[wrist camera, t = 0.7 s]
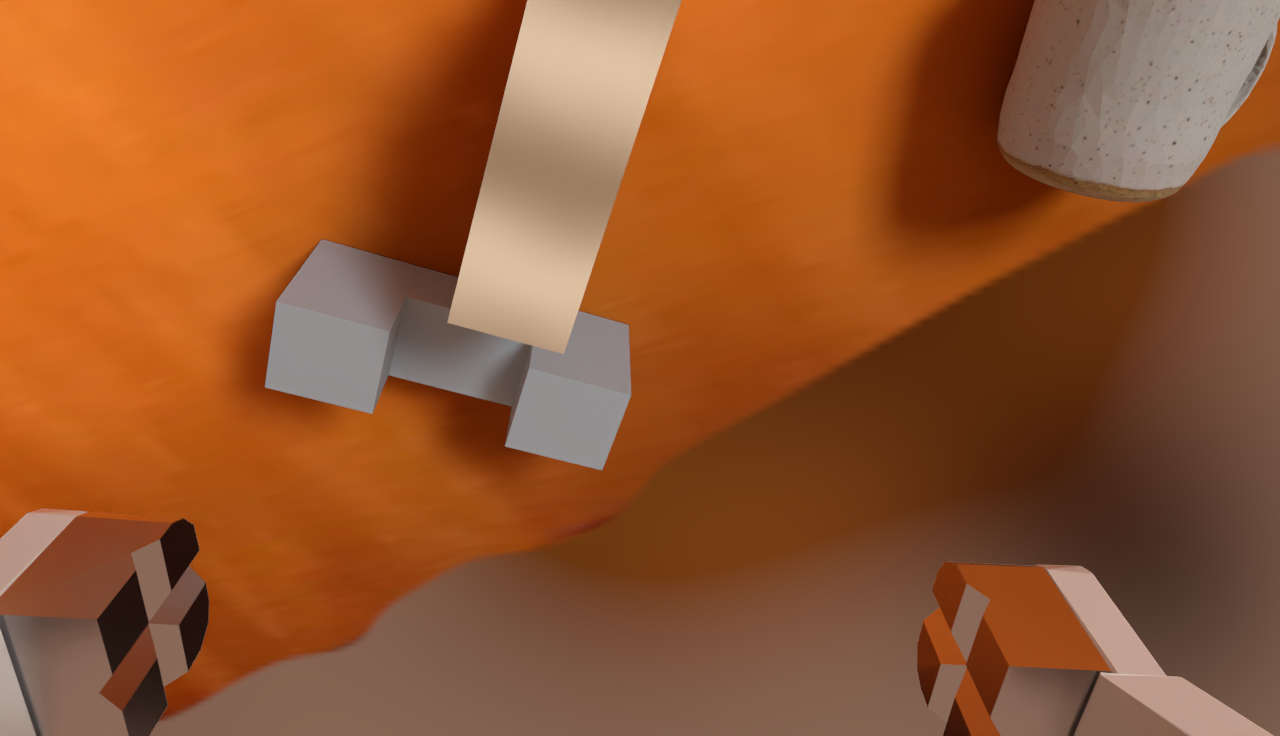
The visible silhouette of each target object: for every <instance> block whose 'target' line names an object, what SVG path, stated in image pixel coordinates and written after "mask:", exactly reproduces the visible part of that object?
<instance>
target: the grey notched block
mask: <svg viewBox="0 0 1280 736" xmlns="http://www.w3.org/2000/svg"><path fill="white" fill-rule="evenodd" d="M457 281H458V277H455V276H452V275H448V274H445V273H441V272H438V271H434V270H430V269H427V268H423V267H420V266H416V265H413V264H409V263H405V262H402V261H398V260H395V259H391V258H388V257H384V256H380V255H377V254H373V253H370V252H366V251H363V250H359V249H355V248H352V247H348V246H345V245H341V244H337V243H334V242H330V241H327V240H323V239H322V240H321V241H320V242H319V244H318V245H317V246H316V248H315V249H314V250H313V252H312V253H311V255H310V256H309V257H308V259H307V260H306V261H305V263H304V264H303V266H302V267H301V268H300V270H299V271H298V272H297V274H296V275H295V276H294V278H293V279H292V281H291V282H290V283H289V285H288V286H287V287H286V289H285V290H284V292H283V293H282V294H281V296H280V297H279V298H278V300H277V301H276V307H275V315H274V322H273V329H272V337H271V344H270V352H269V359H268V367H267V374H266V382H265V388H269V389H273V390H277V391H281V392H285V393H289V394H293V395H297V396H301V397H306V398H310V399H314V400H318V401H322V402H326V403H330V404H334V405H338V406H342V407H346V408H350V409H354V410H358V411H363V412H367V413H371V414H373V411H374V409H375V407H376V404H377V402H378V399H379V397H380V395H381V392H382V390H383V387H384V385H385V383H386V380H387V378H388V375H389V376H393V377H397V378H401V379H405V380H409V381H413V382H417V383H421V384H425V385H429V386H433V387H437V388H441V389H444V390H448V391H452V392H456V393H460V394H464V395H468V396H472V397H476V398H480V399H484V400H488V401H492V402H495V403H499V404H503V405H507V406H511V407H512V408H511V414H510V420H509V425H508V431H507V437H506V442H505V447H509V448H513V449H517V450H521V451H525V452H529V453H534V454H538V455H542V456H546V457H550V458H554V459H558V460H562V461H566V462H570V463H574V464H578V465H582V466H587V467H591V468H595V469H599V470H602V469H603V467H604V464H605V461H606V459H607V456H608V454H609V451H610V448H611V446H612V443H613V441H614V438H615V436H616V433H617V430H618V428H619V425H620V423H621V420H622V418H623V415H624V412H625V410H626V407H627V405H628V402H629V400H630V397H631V376H630V349H629V325H627V324H623V323H620V322H616V321H613V320H609V319H605V318H602V317H598V316H595V315H591V314H588V313H584V312H580V311H578V313H577V316H576V319H575V322H574V325H573V328H572V331H571V334H570V337H569V340H568V343H567V346H566V349H565V352H564V354H561V353H558V352H554V351H550V350H547V349H543V348H539V347H535V346H532V345H528V344H524V343H521V342H517V341H513V340H509V339H506V338H502V337H498V336H495V335H491V334H487V333H483V332H480V331H476V330H472V329H469V328H465V327H461V326H457V325H454V324H450V323H447V322H448V318H449V314H450V309H451V305H452V301H453V297H454V293H455V289H456V285H457Z"/></svg>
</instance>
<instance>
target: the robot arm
mask: <svg viewBox="0 0 1280 736" xmlns="http://www.w3.org/2000/svg"><path fill="white" fill-rule="evenodd" d="M198 552H199V545H198V541H197V537H196V533H195V529H194V525H193V524H191V523H190V522H188V521H187V520H185V519H184V518H174V517H161V516H148V515H136V514H123V513H110V512H97V511H90V512H85V511H77V510H62V509H48V508H42V509H39V510H35V511H32V512H28V513H27V514H26V515H24V516H23V517H22V518H21V519H20V520H19V521H18V522H17V523H16V524H15V525H14V526H13V527H12V528H11V529H10V530H9V531H8V532H7V533H6V534H4V535H3V536H2V537H1V538H0V736H150V734H151V732H152V731H153V729H154V727H155V726H156V724H157V722H158V721H159V719H160V717H161V716H162V714H163V713H164V711H165V709H166V708H167V706H168V704H167V700H166V695H165V691H164V686H166V685H168V684H169V683H171V682H172V681H174V680H175V679H177V678H179V677H180V676H182V675H183V674H185V673H186V672H188V671H189V669H190V667H191V666H192V664H193V662H194V660H195V659H196V657H197V655H198V653H199V651H200V650H201V646H202V643H203V639H204V636H205V632H206V629H207V625H208V617H209V598H208V592H207V586H206V583H205V582H204V581H203V580H202V579H201V578H200V577H199V576H198V575H197V574H196V573H195V572H194V571H193V570H192V569H191V568H190V567H189V565H190V563H191V562H192V560H193V559H194V557H195V556H196V554H197V553H198ZM932 590H933V593H934V595H935V597H936V599H937V602H938V604H939V606H940V608H938V609H937V610H936V611H935V612H934V613H932V614H931V615H930V616H929V617H927V618H926V619H925V620H924V621H923V624H922V628H921V632H920V636H919V641H918V645H917V646H918V647H917V671H918V676H919V681H920V686H921V690H922V693H923V696H924V698H925V701H926V704H927V707H928V708H929V709H930V710H931V711H932V712H934V713H935V714H936V715H937V716H938V717H939V718H940V719H942V720H943V721H944V722H945V723H946V727H945V730H944V734H943V736H1273V735H1272V734H1270V733H1268V732H1267V731H1265V730H1264V729H1262V728H1261V727H1259V726H1257V725H1256V724H1254V723H1252V722H1251V721H1250V720H1248V719H1246V718H1245V717H1243V716H1242V715H1240V714H1238V713H1237V712H1235V711H1234V710H1232V709H1231V708H1229V707H1227V706H1226V705H1224V704H1223V703H1221V702H1219V701H1218V700H1217V699H1215V698H1213V697H1212V696H1210V695H1209V694H1207V693H1206V692H1204V691H1202V690H1201V689H1199V688H1198V687H1196V686H1194V685H1193V684H1191V683H1190V682H1188V681H1187V680H1185V679H1183V678H1182V677H1172V676H1166V675H1165V673H1164V672H1163V671H1162V669H1161V668H1160V666H1159V665H1158V664H1157V662H1156V661H1155V660H1154V658H1153V657H1152V656H1151V654H1150V652H1149V651H1148V650H1147V648H1146V647H1145V646H1144V644H1143V643H1142V642H1141V640H1140V639H1139V637H1138V636H1137V635H1136V633H1135V632H1134V630H1133V629H1132V628H1131V626H1130V625H1129V623H1128V622H1127V621H1126V619H1125V618H1124V617H1123V615H1122V614H1121V612H1120V611H1119V610H1118V608H1117V607H1116V605H1115V604H1114V603H1113V601H1112V600H1111V599H1110V597H1109V596H1108V594H1107V593H1106V592H1105V590H1104V589H1103V588H1102V586H1101V585H1100V583H1099V582H1098V581H1097V579H1096V578H1095V576H1094V575H1093V574H1092V573H1091V572H1090V571H1088V570H1087V569H1085V568H1083V567H1081V566H1064V565H1035V566H1024V565H1005V564H986V563H985V564H984V563H965V562H947V561H946V562H945V563H944V564H943V566H942V567H941V568H940V570H939V571H938V573H937V577H936V580H935V583H934V586H933V589H932Z"/></svg>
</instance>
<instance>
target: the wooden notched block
mask: <svg viewBox="0 0 1280 736" xmlns="http://www.w3.org/2000/svg"><path fill="white" fill-rule="evenodd" d="M680 3H681V0H527V4H526V8H525V12H524V16H523V20H522V24H521V28H520V32H519V36H518V40H517V44H516V48H515V52H514V56H513V60H512V64H511V68H510V72H509V76H508V80H507V84H506V88H505V92H504V96H503V100H502V104H501V108H500V112H499V116H498V120H497V124H496V128H495V132H494V136H493V141H492V145H491V149H490V153H489V157H488V161H487V165H486V169H485V173H484V177H483V181H482V185H481V189H480V193H479V197H478V201H477V205H476V209H475V213H474V217H473V221H472V225H471V229H470V233H469V237H468V241H467V245H466V249H465V253H464V257H463V261H462V265H461V269H460V273H459V277H458V281H457V285H456V289H455V293H454V297H453V301H452V305H451V309H450V314H449V318H448V322H447V323H450V324H454V325H457V326H461V327H465V328H469V329H472V330H476V331H480V332H483V333H487V334H491V335H495V336H498V337H502V338H506V339H509V340H513V341H517V342H521V343H524V344H528V345H532V346H535V347H539V348H543V349H547V350H550V351H554V352H558V353H561V354H564V352H565V349H566V346H567V343H568V340H569V337H570V334H571V331H572V328H573V325H574V322H575V319H576V316H577V313H578V310H579V307H580V304H581V301H582V298H583V295H584V292H585V289H586V286H587V283H588V280H589V277H590V274H591V271H592V268H593V265H594V262H595V259H596V256H597V253H598V250H599V247H600V244H601V241H602V238H603V235H604V232H605V229H606V226H607V223H608V220H609V217H610V214H611V211H612V208H613V205H614V202H615V198H616V195H617V192H618V189H619V186H620V183H621V180H622V177H623V174H624V171H625V168H626V165H627V162H628V159H629V156H630V153H631V150H632V147H633V144H634V141H635V138H636V135H637V132H638V129H639V126H640V123H641V120H642V117H643V114H644V111H645V108H646V105H647V102H648V99H649V96H650V93H651V90H652V87H653V84H654V81H655V78H656V75H657V72H658V69H659V66H660V63H661V60H662V57H663V54H664V51H665V48H666V45H667V42H668V39H669V36H670V33H671V30H672V27H673V24H674V21H675V18H676V15H677V12H678V9H679V6H680Z"/></svg>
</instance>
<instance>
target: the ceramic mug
mask: <svg viewBox="0 0 1280 736" xmlns="http://www.w3.org/2000/svg"><path fill="white" fill-rule="evenodd" d="M1279 18H1280V0H1035V1H1034V4H1033V7H1032V11H1031V14H1030V17H1029V21H1028V24H1027V27H1026V31H1025V34H1024V37H1023V41H1022V44H1021V47H1020V51H1019V54H1018V58H1017V61H1016V65H1015V68H1014V70H1013V73H1012V76H1011V78H1010V81H1009V84H1008V87H1007V89H1006V93H1005V97H1004V101H1003V104H1002V108H1001V112H1000V118H999V127H998V135H997V146H998V148H999V150H1000V152H1001V154H1002V155H1003V157H1004V158H1005V160H1006V161H1007V162H1008V163H1009V164H1010V165H1011V166H1012V167H1013V168H1015V169H1017V170H1018V171H1020V172H1021V173H1023V174H1025V175H1026V176H1029V177H1031V178H1033V179H1035V180H1037V181H1039V182H1042V183H1044V184H1047V185H1049V186H1052V187H1055V188H1058V189H1062V190H1065V191H1068V192H1071V193H1075V194H1079V195H1083V196H1087V197H1093V198H1099V199H1104V200H1111V201H1121V202H1145V201H1153V200H1157V199H1161V198H1164V197H1167V196H1170V195H1172V194H1174V193H1175V192H1177V191H1178V190H1179V189H1180V188H1181V187H1182V186H1183V185H1184V184H1185V183H1186V182H1187V181H1188V179H1189V178H1190V177H1191V176H1192V175H1193V173H1194V172H1195V171H1196V169H1197V168H1198V166H1199V165H1200V164H1201V162H1202V161H1203V160H1204V158H1205V157H1206V155H1207V153H1208V151H1209V149H1210V148H1211V146H1212V144H1213V142H1214V140H1215V138H1216V136H1217V134H1218V132H1219V130H1220V128H1221V127H1222V126H1223V125H1224V124H1225V123H1226V122H1227V121H1228V120H1229V119H1230V118H1231V117H1232V116H1233V115H1234V114H1235V113H1236V111H1237V110H1238V109H1239V108H1240V106H1241V105H1242V104H1243V102H1244V101H1245V100H1246V99H1247V97H1248V96H1249V94H1250V92H1251V90H1252V89H1253V87H1254V86H1255V84H1256V83H1257V81H1258V79H1259V77H1260V76H1261V74H1262V72H1263V70H1264V68H1265V66H1266V64H1267V62H1268V59H1269V56H1270V54H1271V51H1272V48H1273V45H1274V42H1275V37H1276V32H1277V22H1278V20H1279Z"/></svg>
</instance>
